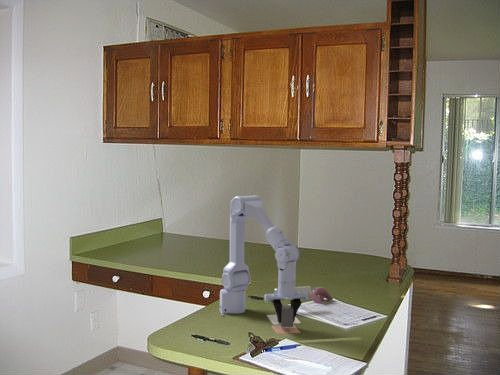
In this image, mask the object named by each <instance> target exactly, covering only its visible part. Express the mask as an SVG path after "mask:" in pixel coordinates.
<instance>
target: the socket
mask: <svg viewBox="0 0 500 375" xmlns="http://www.w3.org/2000/svg"><path fill="white" fill-rule="evenodd" d="M274 312H275V314H266V316H267V318H268V320H269V321H270V323H272V324H271V325H272V326H273V325H279V324H278V319H277V314H276V310H275V309H274ZM301 323H302V322H301V321H300V320H299V319H298V318H297V317H296V316H295V320H294V322H293V324H294V325H295V324H301Z"/></svg>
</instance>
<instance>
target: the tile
mask: <svg viewBox="0 0 500 375" xmlns="http://www.w3.org/2000/svg"><path fill="white" fill-rule="evenodd" d="M271 327H272V330H274V332H275V333H276V335H284V334H286V335H287V334H301V331H300V330H299V329H298V328H297V327H296V325H295V324H293V327H281V326H280V325H279V324H275V325H273V324H272V325H271Z"/></svg>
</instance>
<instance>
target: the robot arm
mask: <svg viewBox="0 0 500 375" xmlns="http://www.w3.org/2000/svg"><path fill="white" fill-rule="evenodd" d="M229 206H230V207H229V208H230V209H229V211H230V212H229V262H228V263H227V264H226V265H225V266H224V267H223V270H222V275H221V284H222V286H223V288H222V289H220V291H219V312H220V314H221V316H223V317H225V314H242V313H243V314H244V313H245V312H246V299H247V298H246V297H247V296H246V295H247V292H246V291H247V289H248V286H249V285H250V283H251V280H252V279H251V278H252V277H251V274H250V267H249V265H247V264H246V263H245V237H246V236H245V235H246V234H245V233H246V232H245V228H246V224H245V223H246V222H245V221H246V220H247V219H248V218H249V217H250V218H251V217H253V218H254V219H255V221H256V222H257V223H258V224H259V225H260V227H261V228H262V229H263V231H265V239H266V240H267V241H268V243H269V244H270V246H271V247H272V249H273V250H274V251H275V253H274V258H275V260H276V266H277V269H278V271H277V272H278V278H277V286H278V287H277V288H278V293H275V292H274V293H266V294H264V296H263V297H264V302H266V303H267V302H272V305H273V307H274V311H275V310H276V312H275V315H276V314H277V319H278V322H279V323H281V311H282V306H283V304H282V301H290V306H291V307H292V308H293V309H294V311H293V322H294V320H295V317H296V316H297V314H298V310H299V309H300V308H301V305H302V301H301V300H304V301H308V300H309V293H299V292H295V287H296V283H297V282H296V278H297V277H296V276H297V261H298V260H300V256H301V252H300V249H299V247H298V245H297V244H296V243H292V241H289V239H288V238H287V236H286V235H285V234H284V232H283V229H282V228H280V227H278V226H275V225H274V223H273V222H272V219H270V217H269V215H268V214H267V213H268V212H266V210H265V208H264V202H263V200H262V199H261V197H260V196H259V195H257V194H253V195H240V196H239V195H235V196H234V197H233V198H232V199H231V200H230V202H229Z"/></svg>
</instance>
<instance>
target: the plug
mask: <svg viewBox="0 0 500 375" xmlns="http://www.w3.org/2000/svg"><path fill="white" fill-rule="evenodd" d="M293 311H294V309H293V308H292V307H291V304H289V305H282V311H281V323H279V322H278V324H277V325H280V326H281V327H293Z"/></svg>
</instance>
